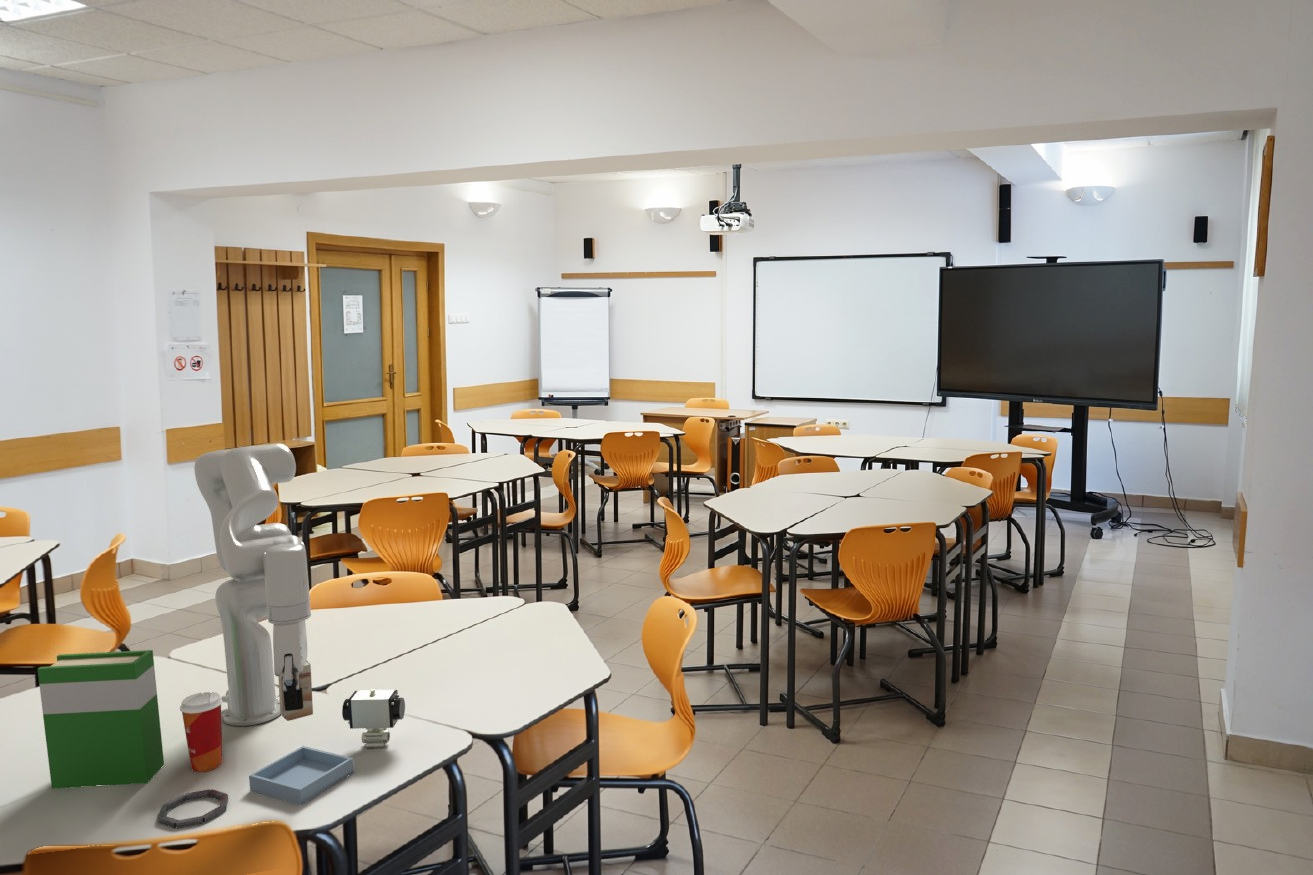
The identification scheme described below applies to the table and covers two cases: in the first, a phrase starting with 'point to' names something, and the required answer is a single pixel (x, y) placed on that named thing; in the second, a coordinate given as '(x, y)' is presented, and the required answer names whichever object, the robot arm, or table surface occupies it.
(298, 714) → the skincare box
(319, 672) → the table surface
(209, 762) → the paper cup
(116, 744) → the hardback book
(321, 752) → the tray
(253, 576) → the robot arm
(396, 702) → the pneumatic valve
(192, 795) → the collar
